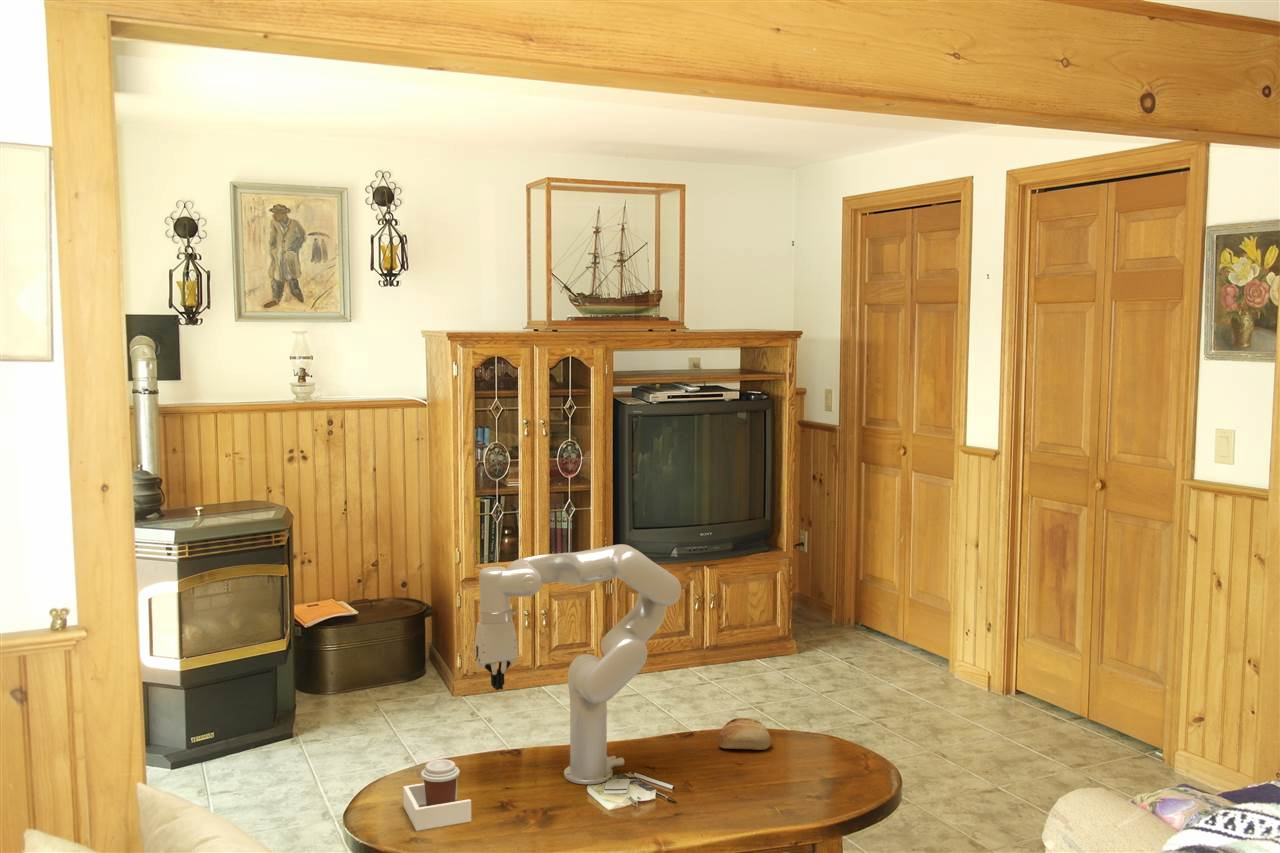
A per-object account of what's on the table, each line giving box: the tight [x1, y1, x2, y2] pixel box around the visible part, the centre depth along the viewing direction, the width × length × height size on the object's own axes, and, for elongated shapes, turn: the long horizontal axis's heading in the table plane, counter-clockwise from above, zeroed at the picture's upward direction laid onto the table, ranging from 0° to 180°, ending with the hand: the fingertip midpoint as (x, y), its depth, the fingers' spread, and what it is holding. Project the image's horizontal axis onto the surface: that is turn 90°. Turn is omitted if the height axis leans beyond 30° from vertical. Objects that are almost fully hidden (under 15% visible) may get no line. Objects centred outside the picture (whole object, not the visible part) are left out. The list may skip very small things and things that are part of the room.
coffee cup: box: [420, 758, 461, 807], centre depth 263 cm, size 9×9×12 cm
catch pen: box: [403, 781, 472, 832], centre depth 263 cm, size 13×14×5 cm
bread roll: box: [717, 717, 772, 751], centre depth 307 cm, size 10×15×8 cm, turn 94°
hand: (497, 688), depth 277 cm, fingers closed
